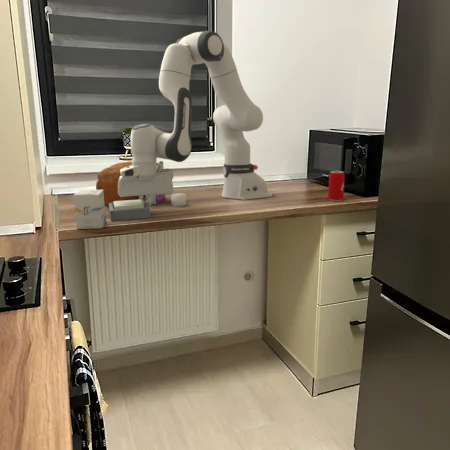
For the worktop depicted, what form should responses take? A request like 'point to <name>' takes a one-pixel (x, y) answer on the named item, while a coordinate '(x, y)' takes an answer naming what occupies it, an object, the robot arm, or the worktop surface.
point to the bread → (112, 183)
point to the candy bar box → (157, 197)
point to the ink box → (89, 209)
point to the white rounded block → (178, 199)
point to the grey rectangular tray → (128, 213)
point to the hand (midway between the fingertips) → (146, 206)
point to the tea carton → (128, 204)
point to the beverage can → (336, 186)
